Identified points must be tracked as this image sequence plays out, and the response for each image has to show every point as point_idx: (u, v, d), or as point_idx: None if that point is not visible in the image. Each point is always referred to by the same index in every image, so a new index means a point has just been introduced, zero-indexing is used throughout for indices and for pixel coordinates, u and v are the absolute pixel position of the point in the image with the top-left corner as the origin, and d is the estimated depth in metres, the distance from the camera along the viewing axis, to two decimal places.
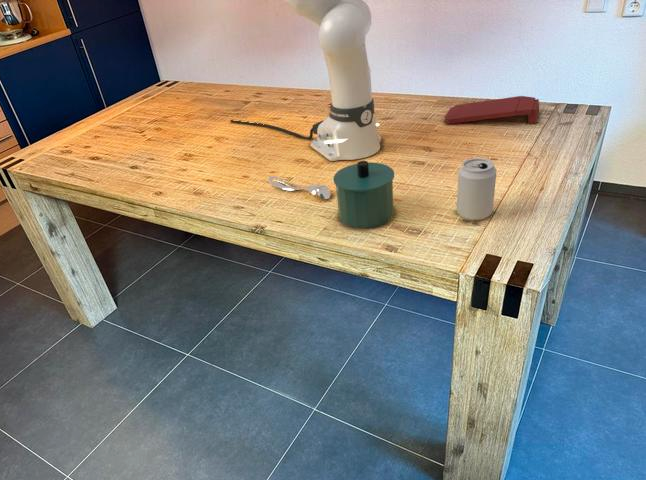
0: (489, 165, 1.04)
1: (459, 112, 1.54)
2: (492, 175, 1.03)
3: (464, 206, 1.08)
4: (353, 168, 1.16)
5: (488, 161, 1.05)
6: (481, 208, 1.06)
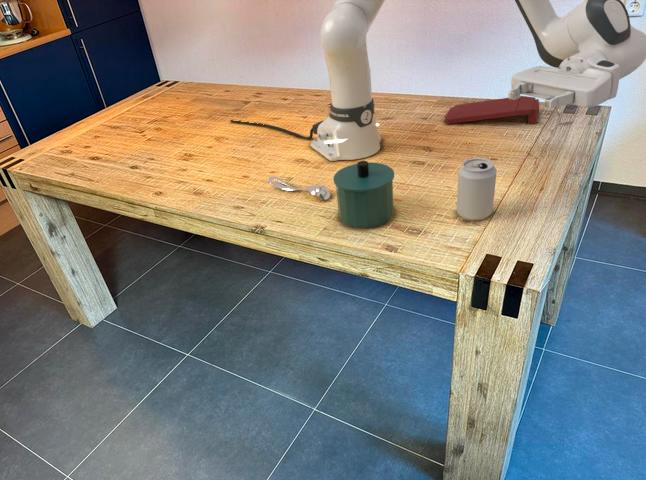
0: (489, 165, 1.04)
1: (459, 112, 1.54)
2: (492, 175, 1.03)
3: (464, 206, 1.08)
4: (353, 168, 1.16)
5: (488, 161, 1.05)
6: (481, 208, 1.06)
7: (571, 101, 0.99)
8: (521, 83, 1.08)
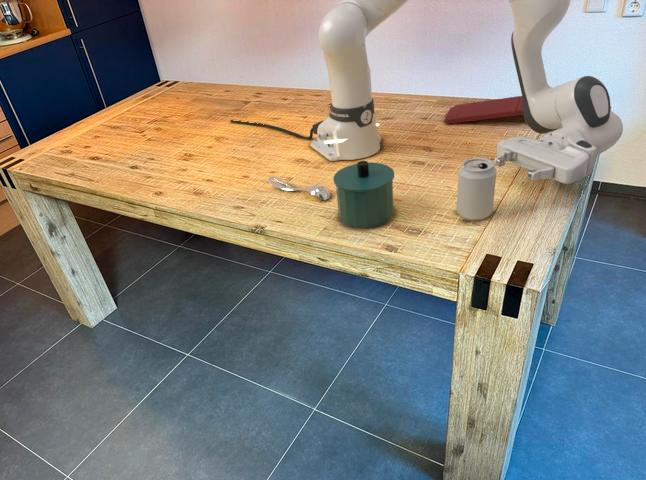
0: (489, 165, 1.04)
1: (459, 112, 1.54)
2: (492, 175, 1.03)
3: (464, 206, 1.08)
4: (353, 168, 1.16)
5: (488, 161, 1.05)
6: (481, 208, 1.06)
7: (551, 176, 1.06)
8: (506, 151, 1.15)
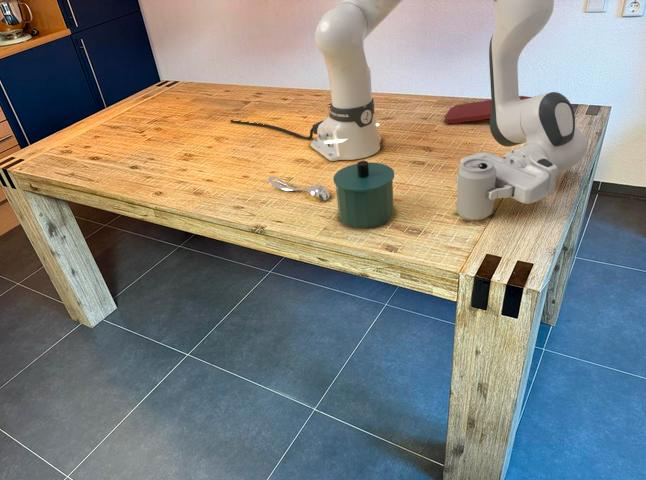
0: (489, 165, 1.04)
1: (459, 112, 1.54)
2: (492, 175, 1.03)
3: (464, 206, 1.08)
4: (353, 168, 1.16)
5: (488, 161, 1.05)
6: (481, 208, 1.06)
7: (509, 194, 1.04)
8: None
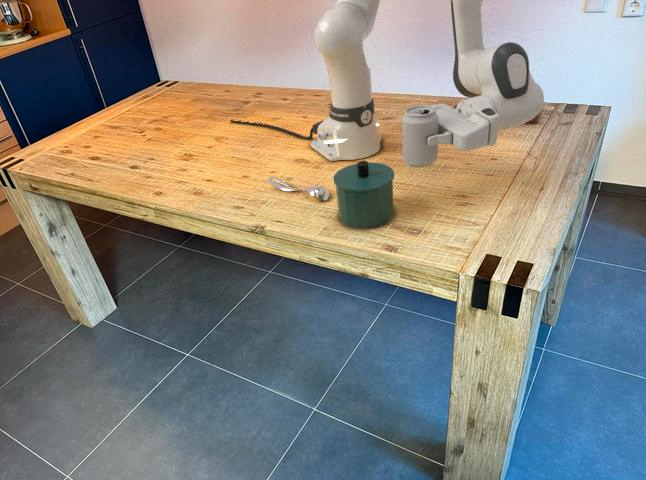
0: (431, 111, 1.06)
1: None
2: (432, 120, 1.05)
3: (407, 152, 1.10)
4: (353, 168, 1.16)
5: (431, 108, 1.07)
6: (422, 155, 1.09)
7: (449, 141, 1.06)
8: None
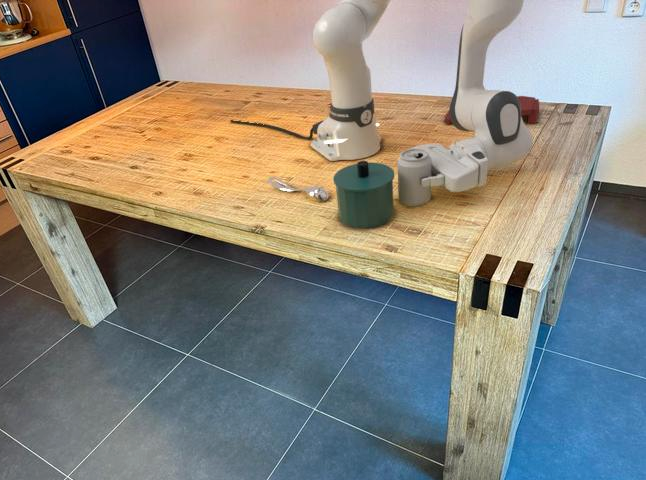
0: (424, 155, 1.13)
1: None
2: (425, 164, 1.11)
3: (402, 192, 1.17)
4: (353, 168, 1.16)
5: (425, 151, 1.14)
6: (416, 195, 1.15)
7: (442, 183, 1.12)
8: None
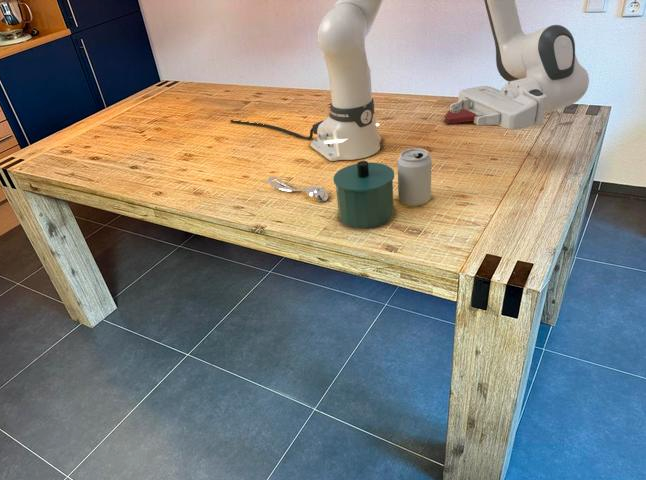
0: (424, 155, 1.13)
1: (459, 112, 1.54)
2: (425, 164, 1.11)
3: (402, 192, 1.17)
4: (353, 168, 1.16)
5: (425, 151, 1.14)
6: (416, 195, 1.15)
7: (497, 122, 1.07)
8: (464, 99, 1.16)
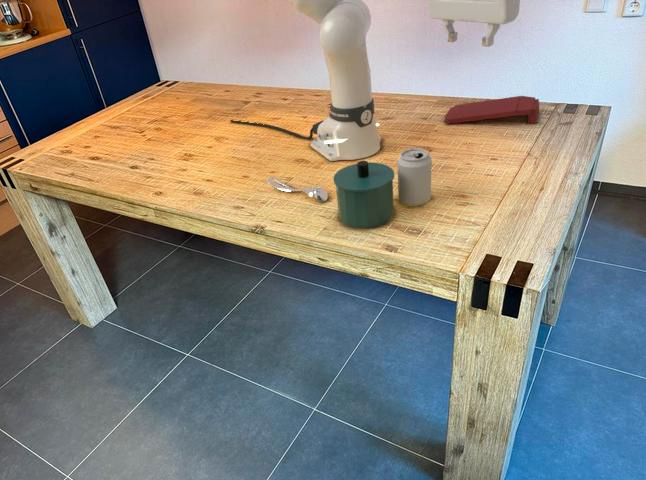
0: (424, 155, 1.13)
1: (459, 112, 1.54)
2: (425, 164, 1.11)
3: (402, 192, 1.17)
4: (353, 168, 1.16)
5: (425, 151, 1.14)
6: (416, 195, 1.15)
7: (498, 24, 1.01)
8: (445, 22, 1.09)
